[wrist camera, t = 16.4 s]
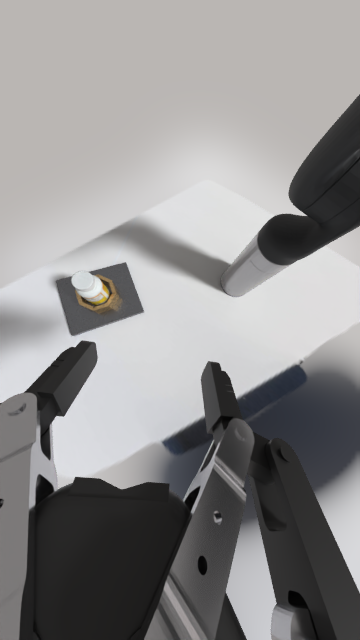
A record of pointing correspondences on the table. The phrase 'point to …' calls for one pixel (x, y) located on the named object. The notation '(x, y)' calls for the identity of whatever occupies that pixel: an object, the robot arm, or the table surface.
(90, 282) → the supplement bottle
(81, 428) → the table surface
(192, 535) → the robot arm
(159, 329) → the table surface
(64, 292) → the collar plate
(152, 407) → the table surface
